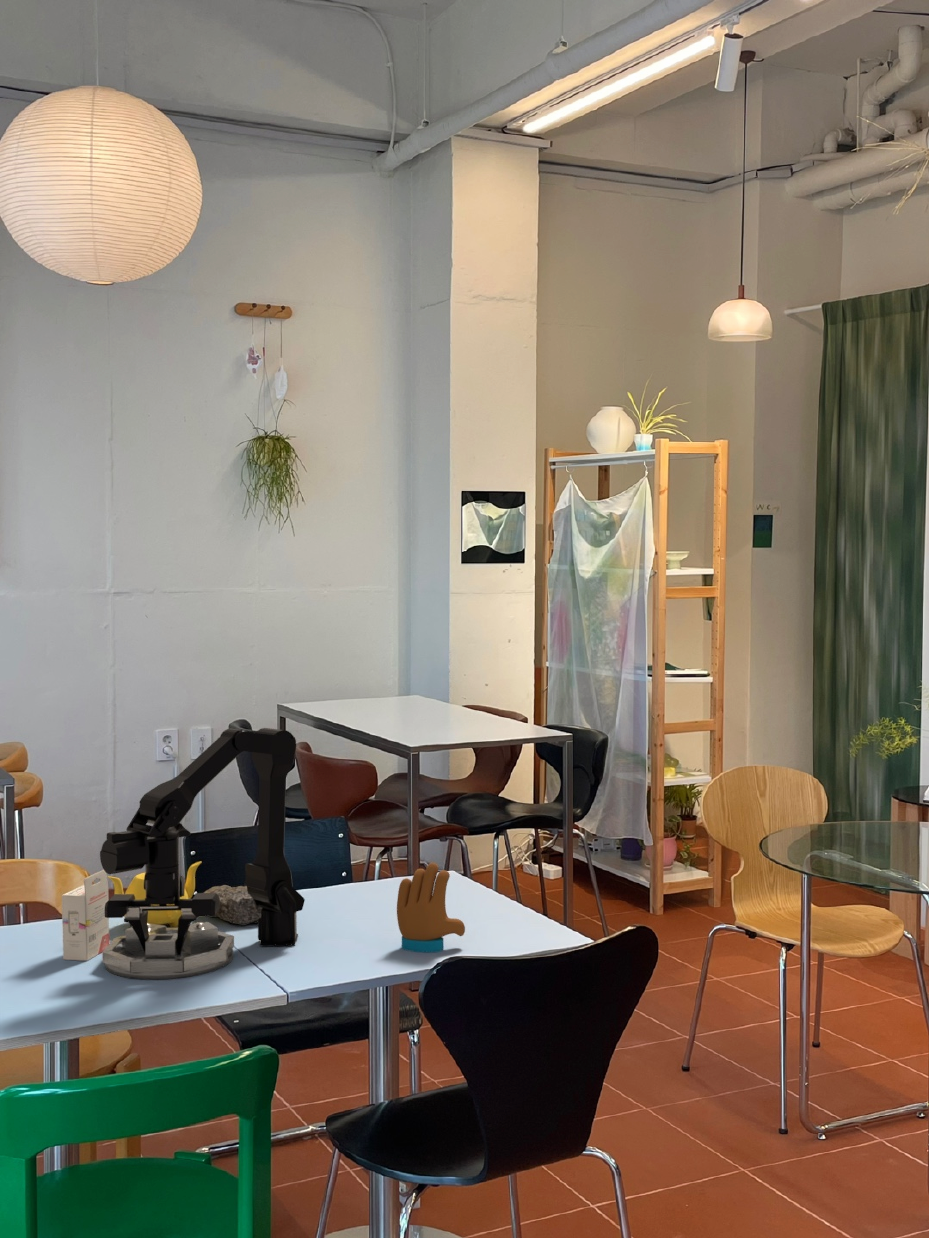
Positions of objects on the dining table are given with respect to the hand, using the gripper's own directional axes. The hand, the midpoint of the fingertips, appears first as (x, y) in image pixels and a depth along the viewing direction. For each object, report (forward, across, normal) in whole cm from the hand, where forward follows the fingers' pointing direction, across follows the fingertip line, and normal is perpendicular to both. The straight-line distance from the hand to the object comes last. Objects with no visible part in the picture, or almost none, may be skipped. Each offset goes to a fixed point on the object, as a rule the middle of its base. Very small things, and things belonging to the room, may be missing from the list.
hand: (163, 954), depth 216 cm
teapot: (+3, +7, -29) cm, 30 cm away
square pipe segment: (+1, 0, 0) cm, 1 cm away
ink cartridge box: (+3, +16, -10) cm, 19 cm away
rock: (+3, -8, -35) cm, 36 cm away
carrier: (+3, 0, -6) cm, 6 cm away
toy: (+3, -46, -12) cm, 47 cm away
